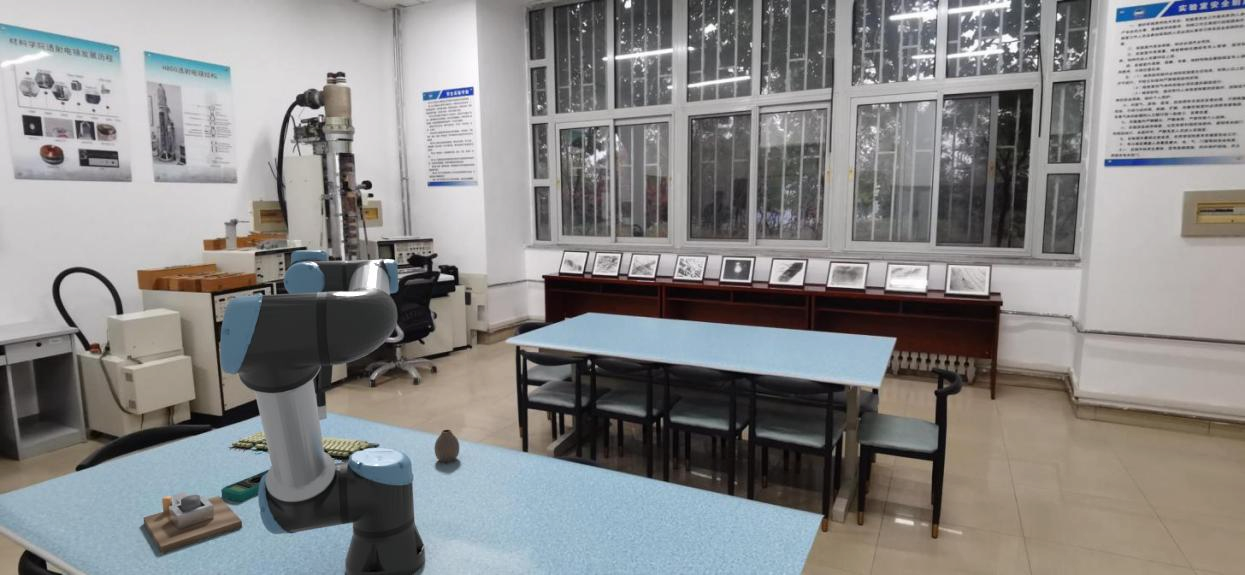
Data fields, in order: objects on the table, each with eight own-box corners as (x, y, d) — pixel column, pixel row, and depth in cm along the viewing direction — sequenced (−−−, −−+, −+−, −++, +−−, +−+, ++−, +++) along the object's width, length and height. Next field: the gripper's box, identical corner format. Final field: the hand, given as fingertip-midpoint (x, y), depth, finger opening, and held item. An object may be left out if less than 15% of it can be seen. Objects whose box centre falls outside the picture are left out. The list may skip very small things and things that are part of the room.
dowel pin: (173, 512, 146) (172, 497, 146) (164, 514, 145) (163, 500, 144) (171, 509, 147) (170, 495, 147) (162, 512, 146) (161, 497, 146)
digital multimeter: (293, 480, 167) (292, 470, 167) (239, 504, 154) (238, 492, 154) (274, 476, 171) (274, 465, 170) (220, 498, 157) (219, 487, 157)
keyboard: (380, 448, 191) (379, 440, 191) (348, 468, 177) (348, 459, 177) (257, 435, 202) (256, 427, 201) (218, 453, 187) (217, 445, 187)
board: (242, 526, 142) (239, 499, 141) (161, 553, 131) (158, 524, 131) (219, 501, 154) (217, 476, 154) (144, 523, 144) (141, 496, 143)
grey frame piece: (214, 517, 143) (213, 505, 143) (179, 529, 138) (177, 516, 138) (196, 500, 151) (195, 488, 151) (162, 510, 146) (161, 498, 146)
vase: (433, 457, 182) (432, 428, 181) (457, 453, 185) (456, 425, 184) (436, 466, 176) (435, 436, 174) (461, 462, 178) (460, 432, 177)
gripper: (344, 318, 141) (350, 420, 144) (315, 313, 149) (321, 410, 152) (311, 322, 135) (317, 429, 138) (283, 317, 143) (289, 418, 146)
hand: (319, 419), depth 145 cm, fingers closed
